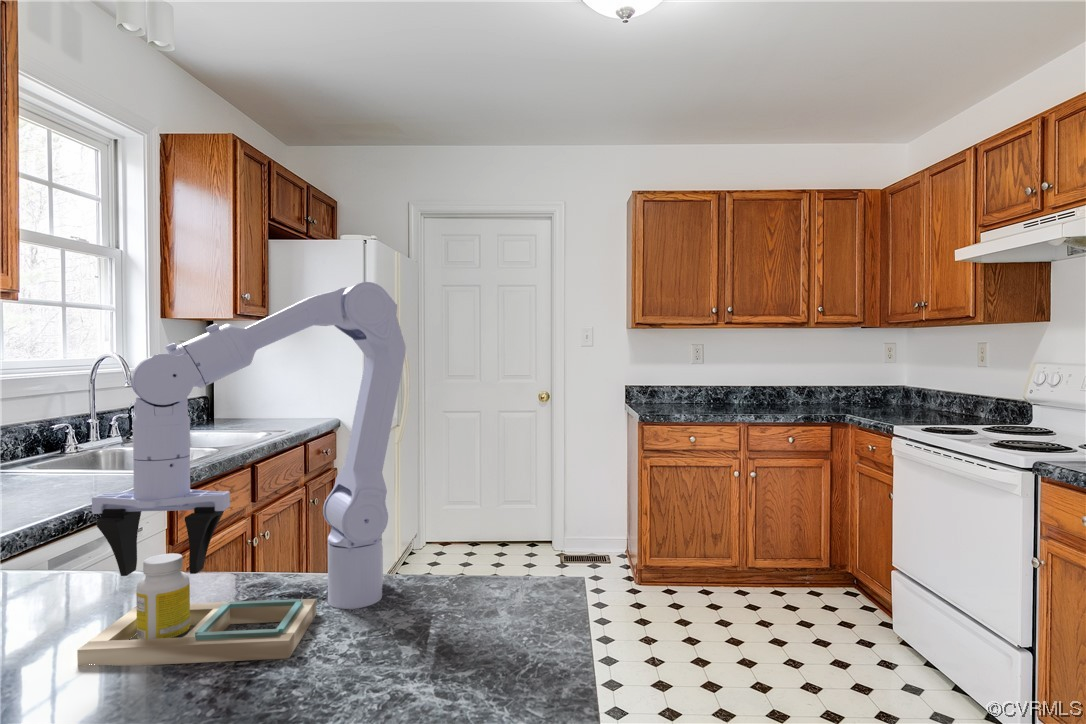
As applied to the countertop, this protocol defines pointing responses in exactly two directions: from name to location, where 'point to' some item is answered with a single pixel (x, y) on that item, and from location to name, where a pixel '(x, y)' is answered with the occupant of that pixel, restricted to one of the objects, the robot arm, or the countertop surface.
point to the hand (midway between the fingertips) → (162, 572)
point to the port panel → (207, 635)
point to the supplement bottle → (163, 598)
